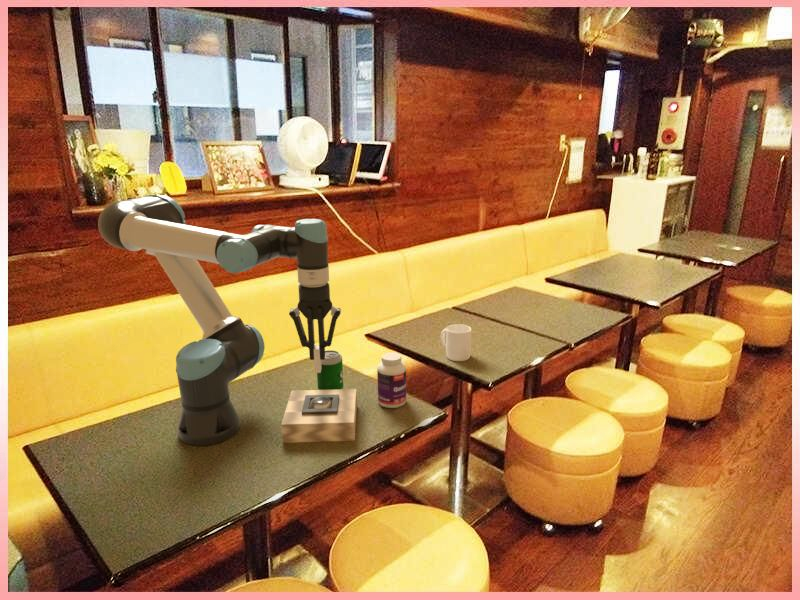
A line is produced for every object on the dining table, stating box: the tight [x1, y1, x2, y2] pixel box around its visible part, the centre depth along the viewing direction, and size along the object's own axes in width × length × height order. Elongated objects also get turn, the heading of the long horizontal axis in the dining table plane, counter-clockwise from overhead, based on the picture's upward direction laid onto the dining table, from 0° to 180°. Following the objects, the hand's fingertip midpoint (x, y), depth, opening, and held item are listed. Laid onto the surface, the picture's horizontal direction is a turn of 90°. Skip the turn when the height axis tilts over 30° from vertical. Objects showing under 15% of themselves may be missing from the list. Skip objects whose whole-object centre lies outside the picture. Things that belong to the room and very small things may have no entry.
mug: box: [440, 323, 472, 362], centre depth 189 cm, size 12×8×10 cm
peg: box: [311, 397, 331, 409], centre depth 148 cm, size 5×5×6 cm
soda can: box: [316, 349, 344, 390], centre depth 165 cm, size 8×8×12 cm
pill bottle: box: [376, 352, 407, 409], centre depth 157 cm, size 8×8×14 cm
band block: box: [280, 388, 358, 444], centre depth 148 cm, size 18×18×6 cm
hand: (318, 370), depth 145 cm, fingers closed
